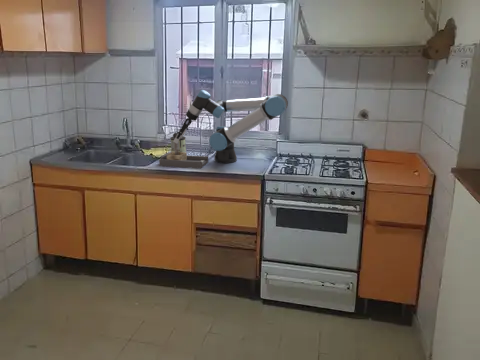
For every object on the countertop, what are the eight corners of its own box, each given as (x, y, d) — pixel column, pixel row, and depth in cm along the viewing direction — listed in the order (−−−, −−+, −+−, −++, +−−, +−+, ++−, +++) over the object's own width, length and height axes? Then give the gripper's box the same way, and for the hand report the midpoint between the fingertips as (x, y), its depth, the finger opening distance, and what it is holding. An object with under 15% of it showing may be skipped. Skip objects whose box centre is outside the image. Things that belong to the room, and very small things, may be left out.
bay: (208, 162, 298) (208, 154, 296) (201, 168, 283) (201, 159, 281) (168, 160, 303) (168, 152, 302) (159, 165, 288) (159, 157, 287)
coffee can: (173, 155, 316) (172, 135, 313) (187, 155, 316) (186, 136, 312) (169, 158, 307) (168, 138, 303) (184, 159, 306) (183, 138, 302)
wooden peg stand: (186, 159, 297) (185, 131, 292) (181, 163, 288) (180, 134, 282) (172, 158, 299) (171, 131, 294) (166, 162, 290) (165, 133, 284)
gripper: (192, 105, 295) (176, 131, 302) (184, 113, 272) (167, 141, 279) (202, 111, 296) (186, 137, 303) (195, 120, 272) (178, 148, 280)
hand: (177, 139), depth 291 cm, fingers open, 13 cm apart
